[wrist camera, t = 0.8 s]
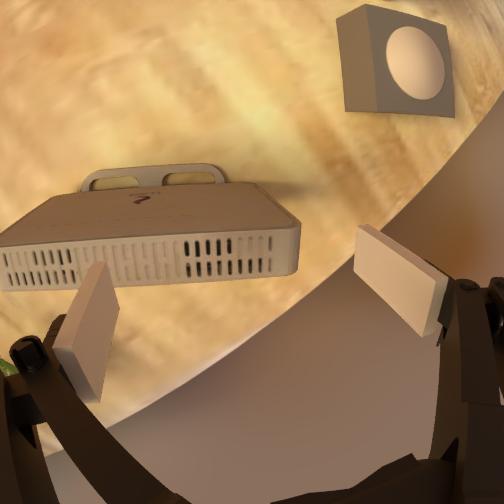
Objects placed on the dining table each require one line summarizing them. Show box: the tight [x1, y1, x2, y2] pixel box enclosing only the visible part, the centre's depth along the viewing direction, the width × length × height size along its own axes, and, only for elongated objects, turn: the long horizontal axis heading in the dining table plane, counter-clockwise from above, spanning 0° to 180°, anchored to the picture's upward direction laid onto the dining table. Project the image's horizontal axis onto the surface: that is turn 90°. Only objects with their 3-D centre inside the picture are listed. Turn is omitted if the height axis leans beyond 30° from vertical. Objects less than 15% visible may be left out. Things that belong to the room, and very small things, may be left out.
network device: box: [0, 164, 301, 292], centre depth 30 cm, size 26×9×20 cm, turn 89°
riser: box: [336, 4, 455, 118], centre depth 34 cm, size 14×14×8 cm
